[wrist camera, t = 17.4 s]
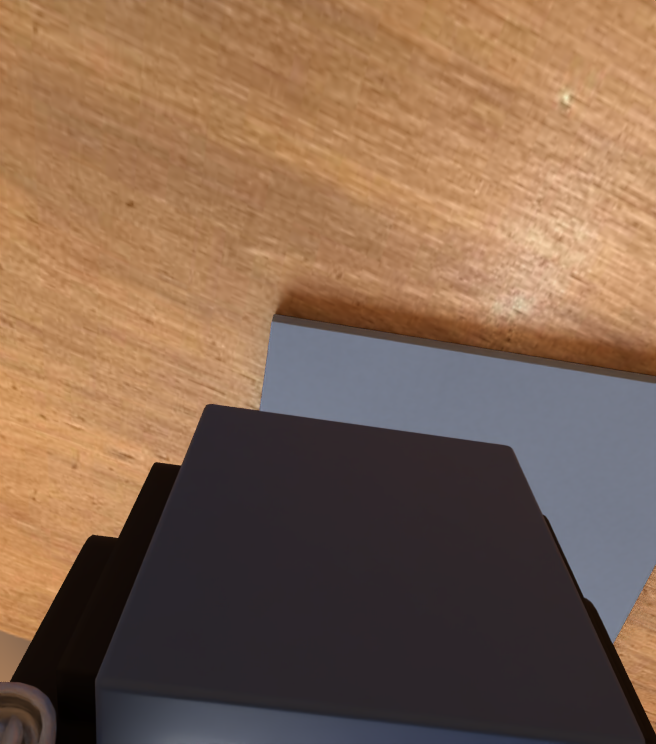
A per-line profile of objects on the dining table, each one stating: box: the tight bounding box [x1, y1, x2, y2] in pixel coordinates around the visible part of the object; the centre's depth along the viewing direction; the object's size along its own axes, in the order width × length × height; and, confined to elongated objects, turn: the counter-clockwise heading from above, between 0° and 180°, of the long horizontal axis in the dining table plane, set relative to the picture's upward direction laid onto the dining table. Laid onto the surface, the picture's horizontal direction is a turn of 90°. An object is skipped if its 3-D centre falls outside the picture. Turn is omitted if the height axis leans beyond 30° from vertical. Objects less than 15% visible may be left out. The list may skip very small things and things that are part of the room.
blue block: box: [95, 404, 645, 744], centre depth 9 cm, size 5×5×5 cm
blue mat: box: [260, 314, 656, 643], centre depth 30 cm, size 20×20×1 cm
